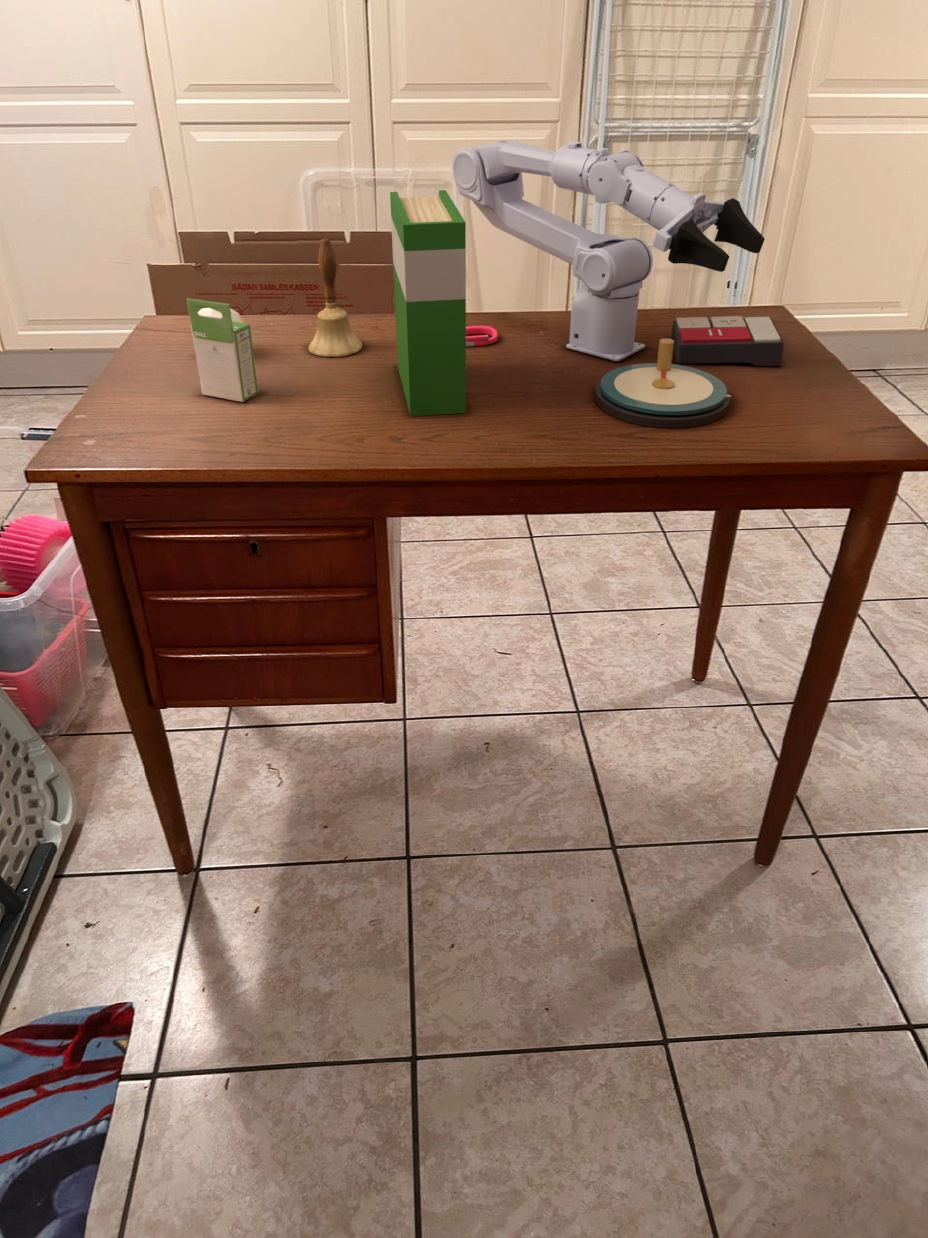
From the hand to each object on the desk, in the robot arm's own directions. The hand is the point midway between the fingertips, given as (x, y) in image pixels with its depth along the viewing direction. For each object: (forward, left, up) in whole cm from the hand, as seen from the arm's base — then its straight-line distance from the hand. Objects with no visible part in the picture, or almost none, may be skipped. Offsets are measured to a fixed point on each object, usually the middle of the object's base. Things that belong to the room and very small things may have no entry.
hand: (743, 254), depth 124 cm
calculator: (-6, +12, -18) cm, 22 cm away
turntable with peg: (-4, -10, -16) cm, 19 cm away
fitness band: (-39, -8, -18) cm, 44 cm away
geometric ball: (-64, -37, -18) cm, 76 cm away
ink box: (-51, -46, -18) cm, 71 cm away
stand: (-4, -10, -18) cm, 21 cm away
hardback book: (-31, -27, -18) cm, 45 cm away
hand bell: (-53, -24, -18) cm, 61 cm away
